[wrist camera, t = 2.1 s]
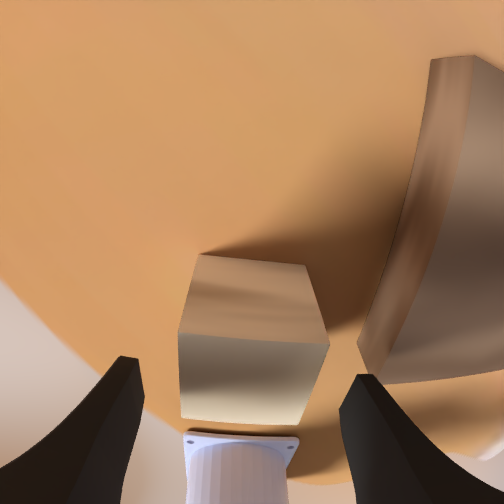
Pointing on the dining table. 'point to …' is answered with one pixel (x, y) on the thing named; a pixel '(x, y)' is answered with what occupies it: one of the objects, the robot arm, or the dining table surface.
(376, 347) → the walnut slab
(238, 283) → the beech block
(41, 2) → the dining table surface
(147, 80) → the dining table surface
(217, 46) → the dining table surface
